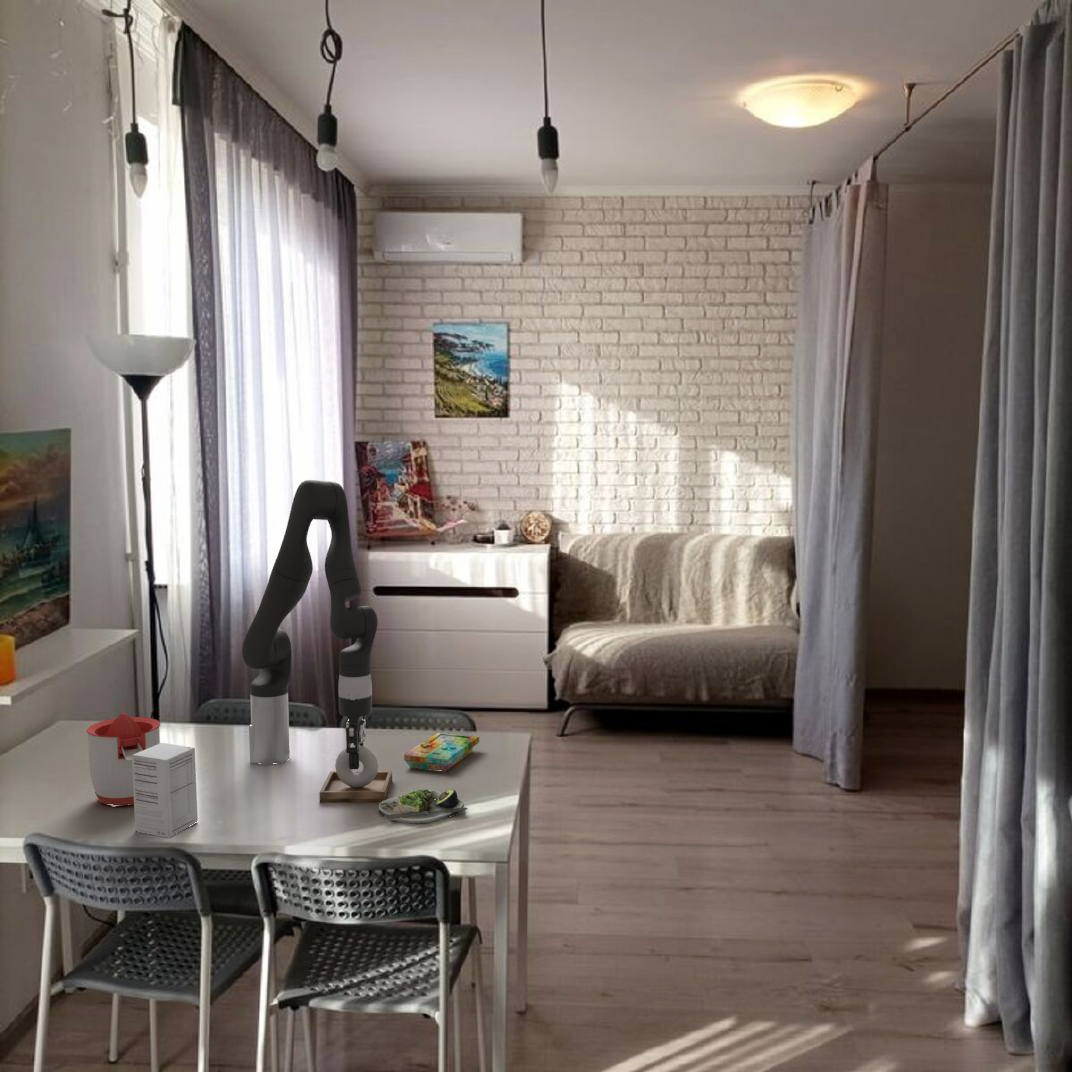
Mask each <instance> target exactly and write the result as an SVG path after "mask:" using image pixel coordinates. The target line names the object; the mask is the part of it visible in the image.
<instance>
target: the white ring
mask: <svg viewBox="0 0 1072 1072" xmlns="http://www.w3.org/2000/svg"><path fill="white" fill-rule="evenodd" d="M351 748H355V745H354V744H353V745H352V744H351ZM346 749H347V748H346V747H344V748H343V749H342V750H341V751H340V752H339V753H338V755H337V757H336V759H335V771H336V773H337V775H338V777H339V779H340V780H341V781H342V782H343V783H344V784H346V785H348V786H350V787H355V788H359V787H364V786H366V785H368V784H370V783H371V782H372V781H373V780H374V778H375V776H376V775H377V771H379V763H378V759H377V758H376V757H377V756H376V755H375V753H374V752H373V751H372V750H370V749H369V748H368V747H366V746H364V745H363V746H359V749H360V752H359V762H360V763H362V764H361V765H362V766H363V767H362V772H360V773H355V772H353V771H354V770H353V769H350V768H349V753H347V751H346Z"/></svg>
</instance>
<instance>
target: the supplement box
mask: <svg viewBox="0 0 1072 1072" xmlns="http://www.w3.org/2000/svg"><path fill="white" fill-rule="evenodd" d="M196 769H197V768H196V748H195V747H194V746H193V747H191V746H186V745H180V744H179V745H178V744H172V743H167V742H166V743H165V742H160V744H158V745H155V746H153V747H150V748H148V749H146V750H143V751H141V752H138V753H136V754H134V755H132V771H133V792H134V805H133V807H134V808H133V809H134V811H133V812H134V829H135V830H134V831H135V832H136V831H137V832H136V833H140V832H141V833H142V834H145V833H146V835H150V834H152V835H151V836H157V837H161V836H162V837H161V838H166V837H167V838H166V839H171V838H172V837H173V836H176V835H177V834H176V833H178V834H179V832H180V831H181V830H183V831H185V830H187V829H188V828H187V827H189V826H190V825H192V824H194V823H195V822H197V821H199V820H198V818H199V817H198V800H197V796H198V795H197V793H198V792H197V775H196V774H197V772H196V771H197V770H196ZM186 828H187V829H186ZM189 828H190V827H189ZM184 829H185V830H184ZM181 832H182V831H181ZM181 832H180V833H181ZM141 833H140V834H141ZM175 834H176V835H175Z"/></svg>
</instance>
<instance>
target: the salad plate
mask: <svg viewBox="0 0 1072 1072" xmlns="http://www.w3.org/2000/svg"><path fill="white" fill-rule="evenodd" d="M434 799H436V800H434ZM464 806H465V803H464V802H463V801H462V800H460V799H459V798H458V793H457V791H456V790H455V789H454V788H450V789H447V790H446V791H443V792H441V791H438V790H434V789H415V790H411V791H410V792H407V793H404V794H401V795H398V796H395V797H394V796H393V797H391V798H386V800H384V801H382V802H381V803H378V808H377V809H378V811H379V812H381V813H382V815H383V817H382V818H383V820H386V821H387V820H388V821H395V822H399V823H404V824H405V823H408V824H409V823H410V824H428V823H434V822H437V821H440V820H444V819H447V818H448V819H449V818H450V816H451V817H453V815H454V816H456V814H457V815H459V814H461V813H462V812H465V811H467V810H468V807H467V806H466V807H464ZM397 807H398V811H399V812H396V811H395V812H394V810H395V808H397Z"/></svg>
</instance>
